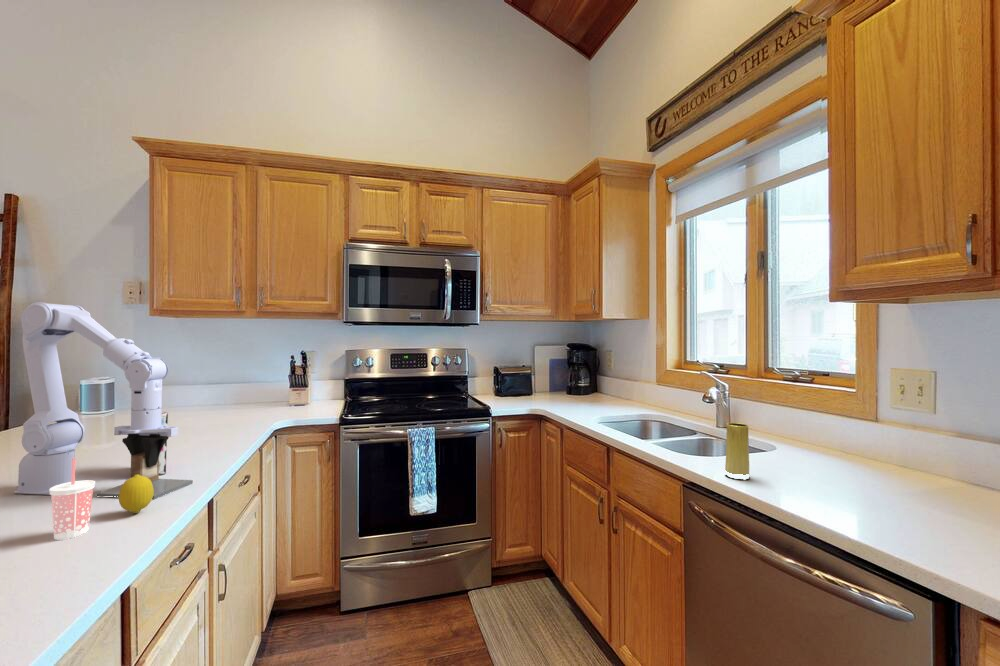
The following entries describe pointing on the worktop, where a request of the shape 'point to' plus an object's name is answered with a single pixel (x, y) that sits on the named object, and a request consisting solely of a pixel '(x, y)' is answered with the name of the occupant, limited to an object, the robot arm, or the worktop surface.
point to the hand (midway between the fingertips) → (145, 465)
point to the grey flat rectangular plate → (159, 487)
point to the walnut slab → (144, 467)
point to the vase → (737, 449)
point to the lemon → (136, 493)
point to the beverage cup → (71, 507)
